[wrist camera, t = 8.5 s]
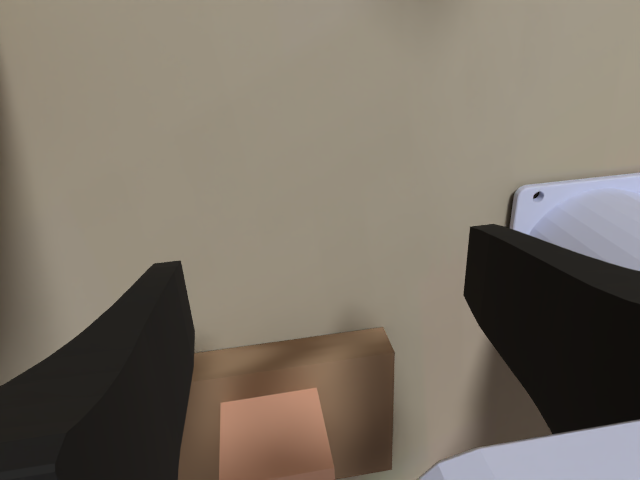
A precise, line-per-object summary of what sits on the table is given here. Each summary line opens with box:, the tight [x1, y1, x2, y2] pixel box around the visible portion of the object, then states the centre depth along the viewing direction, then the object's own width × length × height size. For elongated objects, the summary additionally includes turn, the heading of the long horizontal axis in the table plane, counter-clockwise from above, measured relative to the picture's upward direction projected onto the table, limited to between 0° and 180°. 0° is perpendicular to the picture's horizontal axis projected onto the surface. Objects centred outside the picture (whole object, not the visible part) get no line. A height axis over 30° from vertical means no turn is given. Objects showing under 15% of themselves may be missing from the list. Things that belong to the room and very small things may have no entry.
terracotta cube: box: [219, 388, 335, 480], centre depth 22 cm, size 4×4×4 cm
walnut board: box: [178, 327, 395, 480], centre depth 25 cm, size 12×8×2 cm, turn 93°
